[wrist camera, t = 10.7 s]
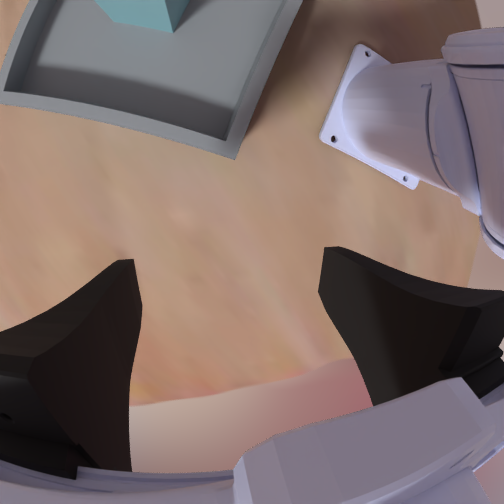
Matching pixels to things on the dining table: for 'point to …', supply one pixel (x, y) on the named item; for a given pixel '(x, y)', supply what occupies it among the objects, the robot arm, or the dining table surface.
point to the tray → (149, 67)
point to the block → (146, 12)
